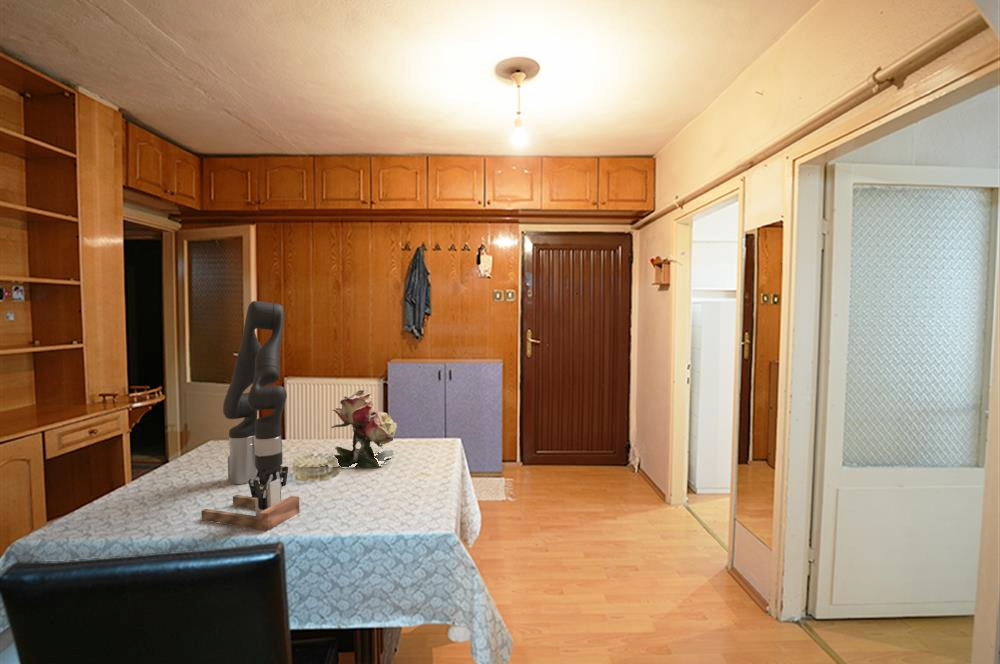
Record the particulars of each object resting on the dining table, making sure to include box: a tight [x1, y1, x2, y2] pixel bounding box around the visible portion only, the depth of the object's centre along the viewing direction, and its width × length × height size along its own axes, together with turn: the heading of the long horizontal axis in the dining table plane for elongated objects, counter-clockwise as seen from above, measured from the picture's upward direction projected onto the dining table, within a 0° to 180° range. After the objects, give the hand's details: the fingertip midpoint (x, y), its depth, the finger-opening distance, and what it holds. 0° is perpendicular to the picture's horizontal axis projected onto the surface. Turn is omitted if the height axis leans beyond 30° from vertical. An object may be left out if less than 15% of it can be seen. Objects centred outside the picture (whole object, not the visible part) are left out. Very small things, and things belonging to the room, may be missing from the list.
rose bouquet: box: [330, 389, 398, 469], centre depth 201 cm, size 26×29×30 cm
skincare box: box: [254, 479, 282, 517], centre depth 142 cm, size 6×4×12 cm
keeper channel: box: [200, 494, 300, 531], centre depth 144 cm, size 25×13×5 cm, turn 74°
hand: (269, 505), depth 142 cm, fingers open, 5 cm apart
